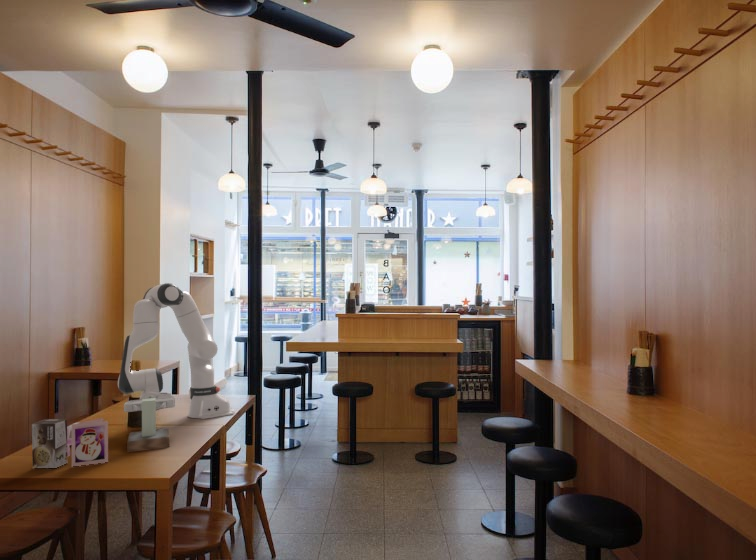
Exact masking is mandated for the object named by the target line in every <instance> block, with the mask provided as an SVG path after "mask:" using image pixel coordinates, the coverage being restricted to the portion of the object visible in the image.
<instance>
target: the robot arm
mask: <svg viewBox="0 0 756 560" xmlns="http://www.w3.org/2000/svg"><path fill="white" fill-rule="evenodd" d="M133 307H134V308H133V314H132V323H133V324H132V330H131V332H130V334H129V335H127V336H126V338H125V341H124V346H123V351H122V352H123V353H122V359H121V366H120V372H119V376H118V377H117V378H118V379H117V387H118V390H119V391H120V392H121V393H123V394H126V395H129V394H133V393H137V392H141V394H140V396H139V399H134V400H133V399H131V400H128V401H126V402H125V403H124V404H123V412H125V413H131V412H142V399H150V398H156V412H157V411H160V410H164V409H169V408H170V409H171V408H175V407H176V398H175V396H173V395H172V393H171V392H162V391H163V389H164V381H163V380H164V379H163V375H162V371H160V369H158V368H156V367H155V368H145V369H138V370H139V371H136V370H133V369H131V368H130V366H131V367H132V360H133V354H134V352H135V350H136V349H138V348H139V347H141V346H144V345H146V344H147V343H151V342H152V341H153V340H155V339H156V338H157V337H158V335H159V334H160V318H159V314H160V311H161V309H163V308H167V307H170V308H171V310H172V312H173V313H174V315H175V318H176V320H177V323H178V325H179V328H180V330H181V332H182V333H183V335H184V337H185V338H186V340H187V341H188V343H187V351H188V353H187V354H188V361H189V368H190V369H189V370H190V387H189V388H190V389H189V399H190V402H189V410H188V413H187V417H188V418H192V419H202V420H204V419H205V420H206V419H211V418H213V419H214V418H219V417H225V416H232V415H234V414H235V412H236V411H235V409H234V408H233V407H231V403H230V401H229V399H228V398H226V396H224V395H222V394H221V393H219V392H220V390H221V389H220V387H219V386H217V385H215V369H214V366H213V365H214V364H213V359H212V358H214V357H215V356H216V355H217V354H218V345H217V343H216V341H215V340H214V337H213V335H212V333H211V332H210V330H209V328H208V327H207V325H206V323H205V322H204V319H203V317H202V315H201V312H200V309H199V308H198V306H197V304H196V301H195V300H194V298H193V296H192V295H191V294H190V292H188V291H186V290H181V288H179V286H177V285H176V284H174V283H169V282H165V283H162V284H157V285H155V286H153V287H150V288H149V289H147V291H145V293H144V296H143V298H142V299H139V300H138V301H136V302H135V303H134V306H133ZM130 362H131V363H130ZM130 369H131V372H130Z"/></svg>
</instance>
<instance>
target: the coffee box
mask: <svg viewBox="0 0 756 560" xmlns="http://www.w3.org/2000/svg"><path fill="white" fill-rule="evenodd" d="M67 427H68V418H43V419H42V420H41V419H40V420H38V421H36V422H33V423H31V437H32V438H31V441H32V442H31V447H32V450H31V451H32V455H31V456H32V468H33V467H35V468H57V467H59V466H61V465H63V466H65V465H64V464H66V463H67V464H68V457H67ZM67 464H66V465H67ZM61 467H62V466H61ZM59 468H60V467H59ZM57 469H58V468H57Z"/></svg>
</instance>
